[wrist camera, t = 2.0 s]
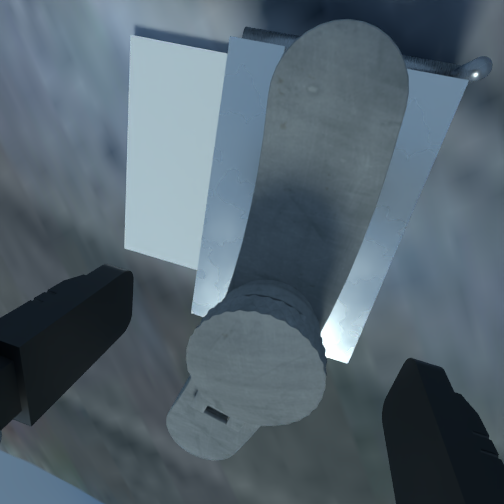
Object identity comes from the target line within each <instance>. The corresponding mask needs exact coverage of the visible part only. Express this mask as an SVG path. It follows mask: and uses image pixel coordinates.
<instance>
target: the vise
mask: <svg viewBox="0 0 504 504" xmlns="http://www.w3.org/2000/svg"><path fill="white" fill-rule="evenodd" d="M299 37H300V36H295V35H290V34H284V33H279V32H273V31H267V30H262V29H256V28H251V27H245V29H244V32H243V36H242V38H238V37H232V36H230V39H229V47H228V54H227V61H226V68H225V75H224V82H223V89H222V97H221V104H220V111H219V118H218V125H217V132H216V139H215V147H214V154H213V161H212V168H211V175H210V182H209V190H208V197H207V204H206V211H205V218H204V225H203V232H202V240H201V247H200V254H199V261H198V268H197V275H196V282H195V290H194V297H193V304H192V311H191V313H192V314H195V315H198V316H202V317H204V316H205V315H207V313H208V311H209V309H211V308H214V307H215V306H216V305H217V303H219V302H221V301H222V300H223V299H224V297H225V296H226V293H227V290H228V287H229V284H230V281H231V279H232V276H233V272H234V269H235V266H236V262H237V259H238V255H239V252H240V249H241V245H242V241H243V237H244V233H245V229H246V224H247V220H248V216H249V212H250V207H251V202H252V198H253V193H254V188H255V183H256V178H257V172H258V166H259V160H260V153H261V147H262V140H263V133H264V125H265V116H266V108H267V99H268V92H269V87H270V82H271V79H272V76H273V73H274V71H275V68H276V66H277V64H278V62H279V61H280V59H281V57H282V56H283V54H284V53H285V51H286V50H287V49H288V48H289V47H290V46H291V44H292V43H293V42H294V41H295V40H296V39H298V38H299ZM402 56H403V58H404V60H405V63H406V67H407V71H408V76H409V95H408V101H407V107H406V111H405V114H404V118H403V121H402V125H401V128H400V132H399V135H398V139H397V142H396V146H395V149H394V153H393V156H392V159H391V162H390V166H389V169H388V172H387V175H386V178H385V181H384V184H383V187H382V190H381V193H380V196H379V199H378V202H377V205H376V208H375V211H374V213H373V216H372V219H371V221H370V224H369V227H368V229H367V232H366V234H365V237H364V240H363V242H362V245H361V247H360V250H359V252H358V254H357V257H356V259H355V262H354V264H353V266H352V269H351V271H350V273H349V276H348V278H347V281H346V283H345V285H344V287H343V289H342V291H341V293H340V295H339V297H338V299H337V302H336V304H335V306H334V308H333V310H332V312H331V314H330V316H329V318H328V320H327V322H326V323H325V325H324V327H323V329H322V331H321V337H322V342H323V345H324V347H325V349H326V353H325V356H326V357H329V358H332V359H335V360H338V361H341V362H344V363H347V364H348V362H349V360H350V357H351V355H352V353H353V350H354V348H355V346H356V343H357V341H358V339H359V336H360V334H361V332H362V329H363V327H364V325H365V322H366V320H367V318H368V315H369V313H370V311H371V308H372V306H373V304H374V301H375V299H376V297H377V294H378V292H379V289H380V287H381V285H382V282H383V280H384V278H385V275H386V273H387V271H388V268H389V266H390V264H391V261H392V259H393V257H394V254H395V252H396V250H397V247H398V245H399V243H400V240H401V238H402V236H403V233H404V231H405V229H406V226H407V224H408V222H409V219H410V217H411V215H412V212H413V210H414V208H415V205H416V203H417V201H418V198H419V196H420V194H421V191H422V189H423V187H424V184H425V182H426V180H427V177H428V175H429V173H430V170H431V168H432V166H433V163H434V161H435V159H436V156H437V154H438V152H439V149H440V147H441V145H442V142H443V140H444V138H445V135H446V133H447V131H448V128H449V126H450V124H451V121H452V119H453V117H454V114H455V112H456V110H457V107H458V105H459V103H460V100H461V98H462V95H463V93H464V91H465V88H466V86H467V84H468V83H471V82H474V81H478V80H481V79H483V78H485V77H486V76H488V74H489V73H490V72H491V70H492V61H491V59H490V58H488V57H486V56H482V57H478V58H476V59H474V60H472V61H470V62H468V63H466V64H463V65H457V64H452V63H446V62H440V61H435V60H429V59H424V58H418V57H413V56H407V55H402Z"/></svg>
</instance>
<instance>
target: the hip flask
mask: <svg viewBox="0 0 504 504" xmlns="http://www.w3.org/2000/svg"><path fill="white" fill-rule="evenodd" d="M408 95H409V76H408V71H407V67H406V63H405V60H404V58H403V56H402V54H401V52H400V50H399V48H398V46H397V45H396V44H395V43H394V41H393V40H392V39H391V38H390V36H389V35H387V34H386V33H385V32H383V31H382V30H381V29H379V28H378V27H376V26H374V25H371V24H369V23H367V22H364V21H359V20H353V19H341V20H333V21H329V22H326V23H322V24H319V25H317V26H316V27H314V28H312V29H310V30H308V31H306V32H305V33H304V34H303V35H301V36H300V37H299V38H298V39H296V40H295V41H294V42H293V43H292V44H291V46H290V47H289V48H288V49H287V50H286V51H285V53H284V54H283V56H282V57H281V59H280V61H279V62H278V64H277V66H276V68H275V71H274V73H273V76H272V79H271V82H270V87H269V92H268V99H267V108H266V116H265V125H264V133H263V140H262V147H261V153H260V160H259V166H258V172H257V178H256V183H255V188H254V193H253V198H252V202H251V207H250V212H249V216H248V220H247V224H246V229H245V233H244V237H243V241H242V245H241V249H240V252H239V255H238V259H237V262H236V266H235V269H234V272H233V276H232V279H231V281H230V284H229V287H228V290H227V293H226V296H225V297H224V299H223V300H222V301H221V302H219V303H217V305H216V306H215V307H214V308H211V309H209V311H208V313H207V315H205V316H204V317H203V318H202V321H201V323H200V325H199V326H197V327H196V329H195V330H194V334H193V335H192V336H191V337H190V338H189V344H188V346H187V348H186V351H187V356H186V362H187V365H188V366H187V369H188V372H189V373H190V376H189V378H188V379H187V381H186V383H185V385H184V386H183V388H182V390H181V392H180V393H179V395H178V397H177V399H176V400H175V402H174V404H173V405H172V407H171V409H170V411H169V413H168V414H167V419H166V422H167V427H168V431H169V433H170V435H171V436H172V438H173V439H174V440H175V442H176V443H177V444H178V445H179V446H180V447H182V448H183V449H184V450H186V451H187V452H189V453H191V454H193V455H195V456H197V457H200V458H203V459H208V460H222V459H226V458H229V457H231V456H232V455H234V454H235V453H236V452H237V451H238V450H239V449H240V448H241V447H242V446H243V445H244V444H245V443H246V442H247V441H248V439H249V438H250V437H251V436H252V435H253V434H254V433H255V431H256V430H257V429H258V428H259V427H260V426H268V425H270V426H279V425H288V424H290V423H292V422H295V421H299V420H301V419H302V418H303V417H305V416H308V415H309V414H310V413H311V411H312V410H314V409H315V408H317V406H318V403H319V402H320V401H321V399H322V398H323V391H324V390H325V388H326V385H325V379H326V376H327V372H326V368H325V367H326V363H327V359H326V356H325V353H326V349H325V347H324V345H323V342H322V337H321V331H322V329H323V327H324V325H325V323H326V322H327V320H328V318H329V316H330V314H331V312H332V310H333V308H334V306H335V304H336V302H337V299H338V297H339V295H340V293H341V291H342V289H343V287H344V285H345V283H346V281H347V278H348V276H349V273H350V271H351V269H352V266H353V264H354V262H355V259H356V257H357V254H358V252H359V250H360V247H361V245H362V242H363V240H364V237H365V234H366V232H367V229H368V227H369V224H370V221H371V219H372V216H373V213H374V211H375V208H376V205H377V202H378V199H379V196H380V193H381V190H382V187H383V184H384V181H385V178H386V175H387V172H388V169H389V166H390V162H391V159H392V156H393V153H394V149H395V146H396V142H397V139H398V135H399V132H400V128H401V125H402V121H403V118H404V114H405V111H406V107H407V101H408Z"/></svg>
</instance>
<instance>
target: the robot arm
mask: <svg viewBox="0 0 504 504" xmlns="http://www.w3.org/2000/svg"><path fill="white" fill-rule="evenodd" d="M132 301H133V274H132V272H131V271H128V270H125V269H122V268H119V267H115V266H112V265H109V264H104V265H102V266H100V267H99V268H97V269H95V270H94V271H92V272H91V273H89V274H87V275H81V276H77V277H74V278H71V279H67V280H64V281H62V282H61V283H59V284H57V285H56V286H54V287H52V288H50V289H49V290H48V291H47V293H46V292H44V293H42V294H40V295H38V296H37V297H35V298H34V300H33V301H31V300H30V301H28V302H27V303H25V304H23V305H21V306H20V307H18V308H16V309H15V310H13V311H11V312H10V313H8V314H6V315H4V316H3V317H1V318H0V442H1V437H2V432H1V430H2V429H3V428H4V427H5V426H6V425H7V424H8V423H9V422H10V421H11V420H13V419H14V420H16V421H19V422H21V423H24V424H26V425H29V426H32V425H33V424H34V423H35V422H36V421H37V420H38V419H39V418H40V417H41V416H42V415H43V414H44V413H45V412H46V411H47V410H48V409H49V408H50V407H51V406H52V405H53V404H54V403H55V402H56V401H57V400H58V399H59V398H60V397H61V396H62V395H63V394H64V393H65V392H66V391H67V390H68V389H69V388H70V387H71V386H72V385H73V384H74V383H75V382H76V381H77V380H78V379H79V378H80V377H81V376H82V375H83V374H84V373H85V372H86V371H87V370H88V369H89V368H90V367H91V366H92V365H93V364H94V363H95V362H96V361H97V360H98V359H99V358H100V357H101V356H102V355H103V354H104V353H105V352H106V350H107V349H108V348H109V347H110V346H111V345H112V344H113V343H114V342H115V341H116V340H117V339H118V338H119V337H120V336H121V335H122V334H123V333H124V332H125V331H126V329H127V327H128V325H129V323H130V320H131V316H132ZM382 423H383V429H384V435H385V441H386V446H387V452H388V458H389V464H390V470H391V476H392V482H393V488H394V493H395V499H396V504H504V464H503V462H502V460H501V459H498V455H499V454H498V452H497V450H496V448H495V446H494V444H493V442H492V440H489V435H488V433H487V431H486V429H485V427H484V425H483V423H482V421H481V419H480V417H479V415H478V414H477V412H476V411H475V410H474V409H473V408H472V407H471V405H470V404H469V403H468V402H467V401H466V400H465V399H464V397H463V396H462V395H461V394H458V393H455V392H454V390H453V388H452V386H451V384H450V382H449V379H448V377H447V375H446V373H445V371H444V369H443V368H441V367H439V366H436V365H432V364H429V363H426V362H423V361H419V360H416V359H413V358H409V359H407V360H406V361H405V363H404V364H403V366H402V368H401V370H400V372H399V374H398V376H397V378H396V379H395V381H394V383H393V385H392V387H391V389H390V391H389V393H388V395H387V396H386V399H385V401H384V405H383V411H382Z"/></svg>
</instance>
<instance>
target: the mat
mask: <svg viewBox="0 0 504 504" xmlns="http://www.w3.org/2000/svg"><path fill="white" fill-rule="evenodd" d="M226 61H227V53H222V52H217V51H212V50H207V49H202V48H196V47H191V46H186V45H181V44H176V43H171V42H165V41H160V40H155V39H150V38H145V37H140V36H134V35H131V38H130V73H129V107H128V142H127V177H126V211H125V246H124V248H125V249H129V250H132V251H135V252H139V253H142V254H145V255H149V256H152V257H155V258H159V259H162V260H165V261H169V262H172V263H175V264H179V265H182V266H185V267H188V268H192V269H195V270H197V268H198V261H199V254H200V247H201V240H202V232H203V225H204V218H205V211H206V204H207V197H208V190H209V182H210V175H211V168H212V161H213V154H214V147H215V139H216V132H217V125H218V118H219V111H220V104H221V97H222V89H223V82H224V75H225V68H226Z"/></svg>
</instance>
